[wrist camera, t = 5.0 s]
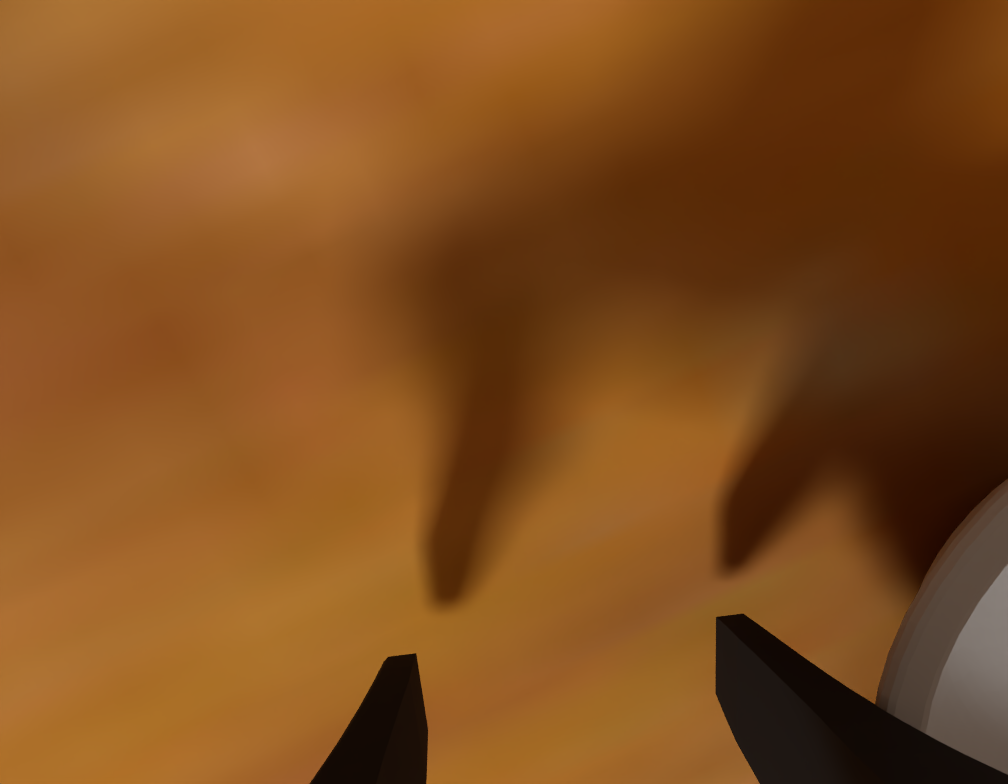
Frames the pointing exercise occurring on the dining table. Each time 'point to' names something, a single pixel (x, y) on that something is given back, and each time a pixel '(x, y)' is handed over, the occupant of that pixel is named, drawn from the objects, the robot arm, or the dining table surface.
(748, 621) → the robot arm
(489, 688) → the dining table surface
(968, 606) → the dish
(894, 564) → the dining table surface
